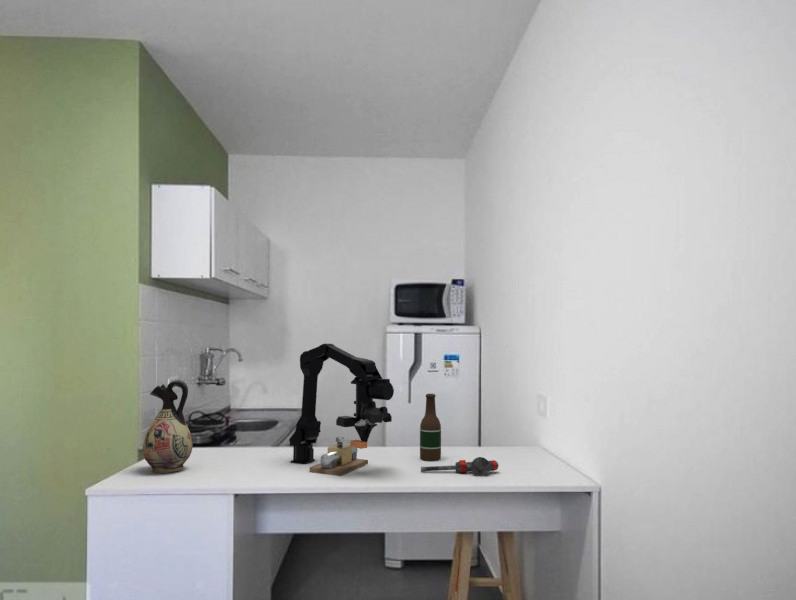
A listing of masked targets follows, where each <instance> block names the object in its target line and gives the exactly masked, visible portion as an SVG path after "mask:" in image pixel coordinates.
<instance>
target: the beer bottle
mask: <svg viewBox="0 0 796 600" xmlns="http://www.w3.org/2000/svg"><path fill="white" fill-rule="evenodd" d="M436 397H437V395H436V394H435V393H427V394H425V398H426V399H425V410H424V411H425V413H424V416H423V418H422V419H421V421H420V425H419V459H420V460H421V461H424V462H439V461H440V460H441V459H442V428H441V427H442V424H441V422H440V421H441V420H440V419H439V418H438V416H437V412H436V411H437V410H436V409H437V408H436Z"/></svg>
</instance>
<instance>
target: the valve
mask: <svg viewBox="0 0 796 600" xmlns="http://www.w3.org/2000/svg"><path fill="white" fill-rule="evenodd" d="M498 469H499V463H498V461H497V460H495V459H494V460H493V459H491V460H488V459H487V458H485V457H482V456H478V457H475V458H474V459H473V460H472V461H466V459H460V460H458V461H457V462H455V465H453V464H452V465H434V466H433V465H432V466H420V472H432V471H433V472H434V471H435V472H436V471H455V472H456V474H457V473H458V474H467V472H468V473H471V472H472V474H473V475H474V476H475V477H487V476H488V475H490V472H494V471H497V470H498Z"/></svg>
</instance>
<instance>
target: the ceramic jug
mask: <svg viewBox="0 0 796 600" xmlns="http://www.w3.org/2000/svg"><path fill="white" fill-rule="evenodd" d="M176 387H178V388H180V389H181V392H182V393H181V397H180V401H179V404H178V407H177V408H176V406H175V402H174V401H177V400H178V399H179V397H178V395H177V394H176V392H175V391H174V390H173V389H174V388H176ZM188 393H189V387H188V385H187V383H185V382H184V381H182V380H179V379H176V380H172V381H170V382H169V383H168V384H167V385H165V384H161V385H157V386H155V388H153V389H152V390H151V392H150V393H149V395H151V396H153V397H156V398H157V399H160V400H161V401H162V408H161V409H160V410H159V412H158V414H157V415H156V416H155V418H154V420H153V421H152V422H151V424H150V426H149V427H148V429H147V431H146V433H145V437H144V440H143V444H142V453H143V454H142V455H143V458H144V460H145V461H146V463H147V464H148V465H149V466H150V468H151V469H152V473H155V474H167V473H168V474H169V473H176V472H180V471H182V470H183V469H184V464H185V463H186V462H187V460H188V459H189V458H190V456H191V454H192V452H193V438H192V433H191V431H190V429H189V426H188V425H187V423H186V420H185V417H184V413H183V411H184V407H185V404H186V401H187V399H188Z"/></svg>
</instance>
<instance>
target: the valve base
mask: <svg viewBox="0 0 796 600" xmlns="http://www.w3.org/2000/svg"><path fill="white" fill-rule="evenodd" d="M358 449H359V448H356V447H352V446H350V444H344V443H343V442H337V443H336V444H334V445H331V446H328V447H327V453H324V454H322V455H321V456H320V463H318V464H314V465H312V466H309V473H315V474H324V475H332V476H343V475H346V474H349V473H351V472H354V471H355V469H356V470H357V468H358V469H359V467H360V468H363V467H365V466H367V465H369V459H364V458H363V459H362V458H357V456H358V455H357V454H358ZM366 464H367V465H366ZM364 465H365V466H364ZM362 466H363V467H362Z"/></svg>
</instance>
